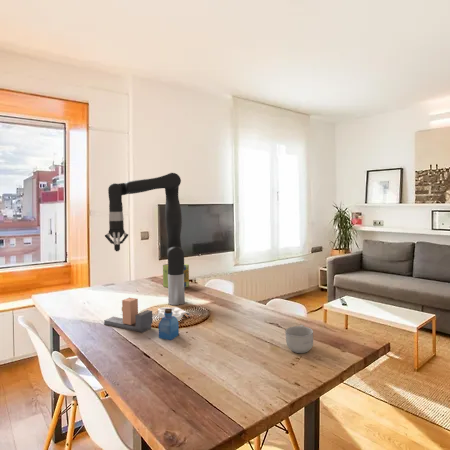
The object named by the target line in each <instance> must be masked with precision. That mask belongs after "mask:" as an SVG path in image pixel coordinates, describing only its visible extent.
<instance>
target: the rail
mask: <svg viewBox="0 0 450 450" xmlns="http://www.w3.org/2000/svg"><path fill="white" fill-rule="evenodd" d="M135 318H136V323H134V324H132V325H129V324H124V323H123V317H118V316H117V317H116V316H111V317H109V318H106V319H104V320H103V321H104V323H103V324H104V325H106V326H111V327H115V328H118V329H119V328H121V329H125V330H128V331H129V330H130V331H134V332H139V333H146V331H148V330H151V329H152V324H153V310H149V309H146V310H144V311H142V312H138V314H137V315H135Z"/></svg>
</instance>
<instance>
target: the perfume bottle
mask: <svg viewBox="0 0 450 450" xmlns="http://www.w3.org/2000/svg"><path fill="white" fill-rule="evenodd" d="M164 315H165V317H163V318H162V319H160V321H159V322H158V338H159V339H163V340H168V341H172V340H173V339H176V338H177V337H178V336H179V334H180V333H179V331H180V330H179V329H180V328H179V327H180V326H179V323H180V322H178V320H177V319H176V317H175V316H172V309H165V312H164Z"/></svg>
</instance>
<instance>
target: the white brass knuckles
mask: <svg viewBox="0 0 450 450" xmlns="http://www.w3.org/2000/svg"><path fill="white" fill-rule="evenodd" d="M165 309H172V316H175V317H176V319H177V320H178V321H180V320H181V321H182V319H183V318H182V317H184V314H185V313H186V314H187V315H189V317H191V313H190V312H188V311H185V310H184V309H182V308H180V307H178V306H173V307H166V306H165V307H158V309H157V315H156V317H158V318H159V317H161V318H163V317H165V315H164V312H165ZM181 318H182V319H181ZM181 321H180V322H181Z"/></svg>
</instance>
